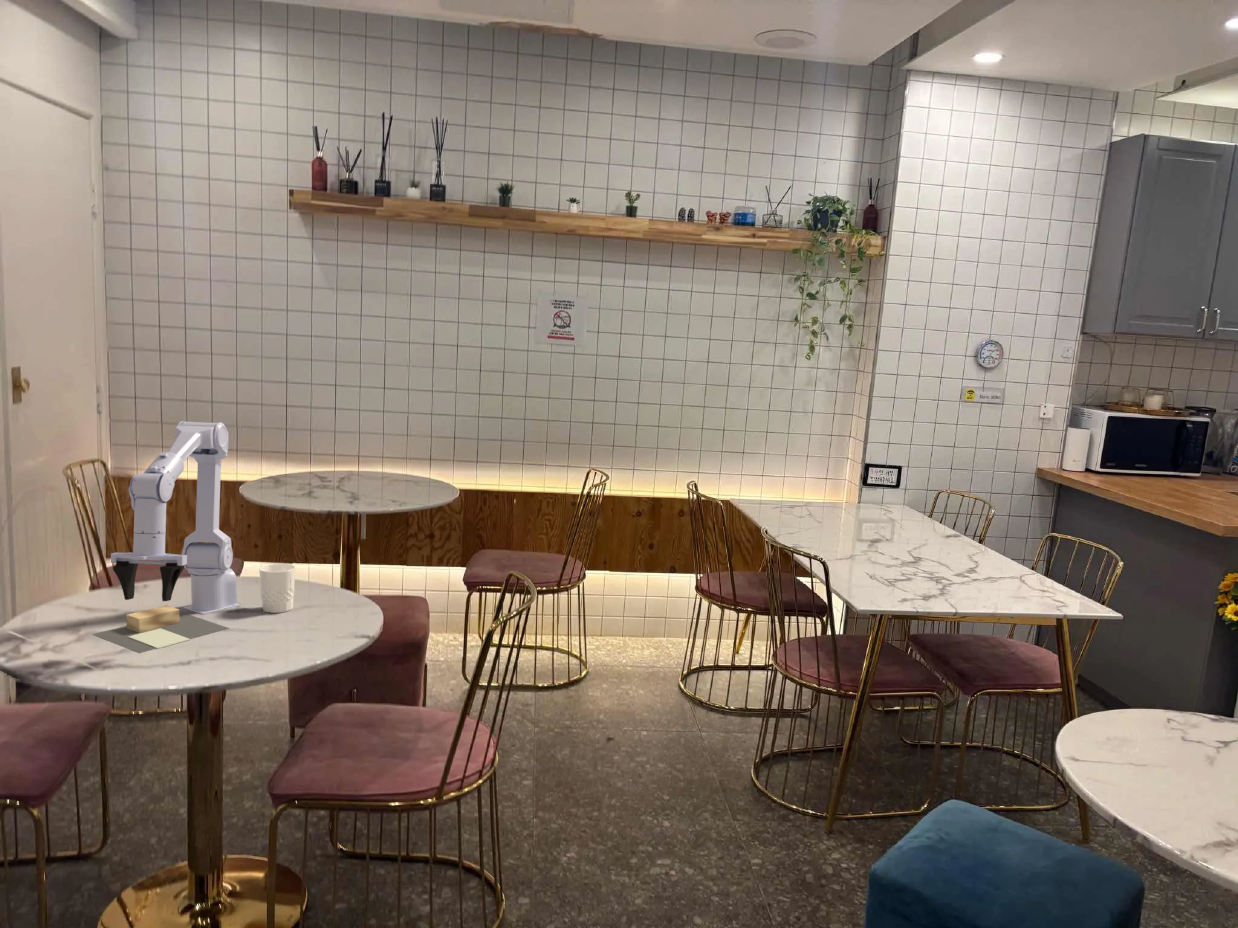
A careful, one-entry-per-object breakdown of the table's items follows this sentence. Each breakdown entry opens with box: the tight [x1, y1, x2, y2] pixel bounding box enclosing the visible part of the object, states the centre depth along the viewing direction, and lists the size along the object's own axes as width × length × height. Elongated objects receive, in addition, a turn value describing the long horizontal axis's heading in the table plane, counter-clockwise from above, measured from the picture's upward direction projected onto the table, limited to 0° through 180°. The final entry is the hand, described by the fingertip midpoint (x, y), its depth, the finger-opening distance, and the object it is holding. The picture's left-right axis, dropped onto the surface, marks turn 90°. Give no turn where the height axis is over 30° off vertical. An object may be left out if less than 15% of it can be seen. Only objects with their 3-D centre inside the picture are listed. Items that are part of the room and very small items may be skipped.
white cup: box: [259, 563, 296, 614], centre depth 214 cm, size 8×8×10 cm
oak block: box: [125, 604, 181, 633], centre depth 198 cm, size 9×5×3 cm, turn 147°
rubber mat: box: [92, 612, 230, 654], centre depth 195 cm, size 20×18×1 cm
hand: (147, 599), depth 183 cm, fingers open, 7 cm apart
